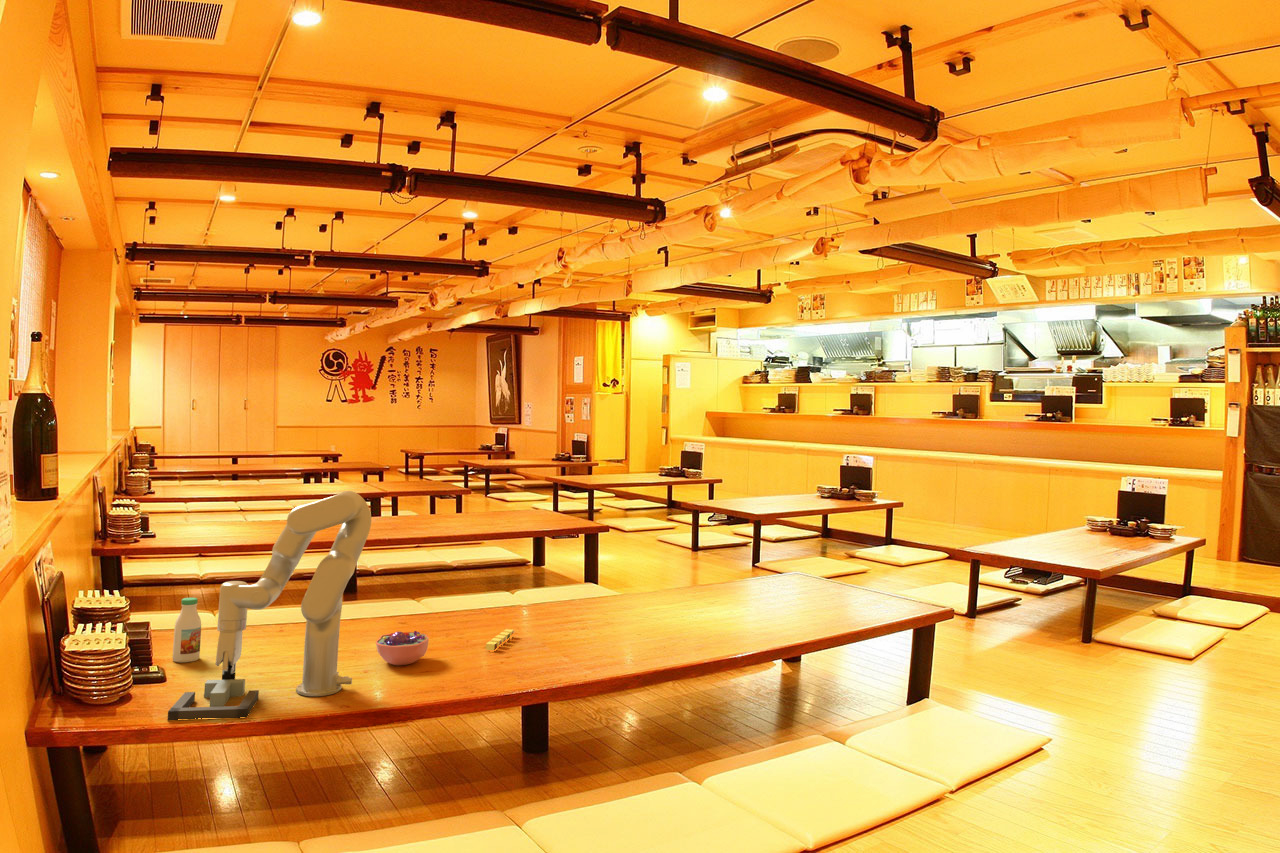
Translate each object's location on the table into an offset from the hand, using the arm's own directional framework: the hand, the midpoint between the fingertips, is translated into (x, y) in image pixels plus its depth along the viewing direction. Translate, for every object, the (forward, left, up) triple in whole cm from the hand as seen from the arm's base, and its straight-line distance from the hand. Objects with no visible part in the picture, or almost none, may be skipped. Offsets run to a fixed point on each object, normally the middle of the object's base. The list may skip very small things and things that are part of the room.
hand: (228, 686), depth 236 cm
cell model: (-48, -25, -2) cm, 55 cm away
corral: (0, +16, -1) cm, 16 cm away
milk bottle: (+20, -33, -2) cm, 39 cm away
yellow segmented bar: (-85, -47, -2) cm, 98 cm away
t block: (0, +8, -1) cm, 8 cm away
